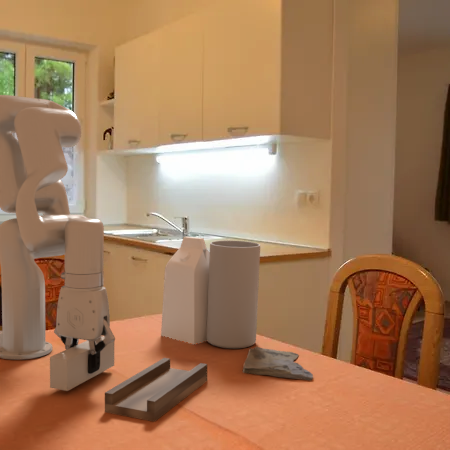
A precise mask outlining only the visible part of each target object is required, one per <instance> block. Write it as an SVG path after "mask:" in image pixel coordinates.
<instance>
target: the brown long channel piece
mask: <svg viewBox="0 0 450 450" xmlns="http://www.w3.org/2000/svg"><path fill="white" fill-rule="evenodd" d="M206 382H208V364H207V363H202V362H200V363H199V364H197V365H196V366H194V367H193V368H192V369H189V370H186V369H185V370H184V369H178V368H173V367H171V358H168V357H167V358H166V357H163V358H162V359H161V358H160V359H159V360H158V361H156V362H155V363H153V364H151V365H149V366H148V367H146V368H144V369H143V370H140V371H139V372H138V373H136V374H135V375H132V376H130V377H129V378H127V379H125V380H124V381H122V382H121V383H119V384H117V385H116V386H113V387H112V388H110V389H109V390H107V391H105V392H104V413H106V414H107V413H108V414H114V415H117V416H118V415H119V416H123V417H128V418H129V417H130V418H134V419H140V420H146V421H150V422H156V421H157V420H159V419H160V418H161V417H162V416H164V415H165V414H166V413H167V412H169V411H170V410H172V409H173V408H174V407H175V406H177V405H178V404H179V403H181V402H183V400H184V399H185V398H187V397H188V396H190V395H191V394H192V393H193V392H195V391H196V390H198V389H199V388H200V387H201V386H203V385H204V384H205V383H206Z"/></svg>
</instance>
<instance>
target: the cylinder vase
mask: <svg viewBox="0 0 450 450" xmlns="http://www.w3.org/2000/svg"><path fill="white" fill-rule="evenodd" d="M209 252H210V257H209V284H208V311H207V341H206V342H208V343H209V344H210V345H212V346H214V347H217V348H218V347H219V348H223V349H233V350H235V349H245V348H249V347H251V346H253V345H254V344H255V343H256V341H257V328H258V327H257V325H258V304H259V280H260V263H261V260H260V259H261V243H258V242H254V241H248V240H246V241H245V240H244V241H243V240H231V239H230V240H213V241H210V242H209Z"/></svg>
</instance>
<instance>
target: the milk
mask: <svg viewBox="0 0 450 450" xmlns="http://www.w3.org/2000/svg"><path fill="white" fill-rule="evenodd" d="M209 257H210V250H208V249H207V245H206V242H205V239H204V237H195V236H183V239H182V241H181V245H180V247H179V248H178V249H177V251H175V253H174V254H173V255H172V256H171V258H170V259H169V260H168V261H167V262H166V265H165V267H164V274H163V275H164V278H163V292H162V293H163V294H162V296H163V297H162V314H161V329H160V330H161V331H160V336H161V337H164V336H165V338H167V337H169V338H168V339H171V338H172V340H175V339H176V340H175V341H179V340H180V341H179V342H182V341H184V342H183V343H186V342H188V343H187V344H190V343H192V344H191V345H194V344H195V345H197V344H196V343H198V344H201V343H204V342H203V341H205V342H208V341H207V311H208V284H209ZM200 342H201V343H200Z"/></svg>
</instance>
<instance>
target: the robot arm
mask: <svg viewBox="0 0 450 450" xmlns="http://www.w3.org/2000/svg"><path fill="white" fill-rule="evenodd" d="M14 133H15V134H16V137H15V136H14V135H13V134H14ZM81 137H82V126H81V122H80V120H79V118H78V117H77V115H76V113H74V112H73V111H72V110H71V109H69V108H67V107H65V106H63V105H61V104H59V103H57V102H56V101H52V100H50V99H44V98H35V97H26V96H19V95H11V94H10V95H9V94H0V209H1V210H2V212H5V213H8V214H15V218H10V219H7V220H5V221H3V222H2V223H0V277H1V279H0V280H1V311H2V312H1V314H2V315H1V319H2V320H1V321H2V323H1V325H2V326H1V327H2V330H0V358H1V359H4V360H13V361H14V360H16V361H17V360H30V359H36V358H40V357H44V356H47V355H48V354H50V353H51V352H52V351H53V345H52V343H50V342H49V341H46V285H45V284H46V282H45V281H46V279H45V275H44V272H43V271H42V269H41V268H40V267H39V265H38V263H36V261H35V259H40V258H49V257H58V256H63V255H64V272H61V273H60V278H61V279H62V280H64V285H62V286H61V287H60V290H59V295H58V301H57V307H56V308H57V309H56V323H55V326H56V327H55V328H54V330H53V333H54V334H55V335H56V336H57V337H58V338H59V339H60V340H61V342H62V343H63V345H64V349H65V350H67V349H69V348H71V347H74V346H76V345H78V344H79V340H83V341H87V340H88V341H89V347H90V354H88V373H89V374H92V373H94V372H96V371H98V370H99V368H100V351H102V350H103V348H104V347H105V346H106V345H108V344H109V343H111V342H113V341H114V342H115V340H116V337H115V335H114V333H113V331H112V330H111V326H110V324H111V322H110V317H111V315H110V304H109V297H108V292H107V287H105V286H104V260H105V259H104V255H105V254H104V247H105V245H104V243H105V242H104V237H105V236H104V235H105V233H104V231H105V228H104V223H103V222H102V220H100V219H99V218H98V219H97V218H92V217H91V218H90V217H87V216H85V215H82V214H71V210H70V205H69V200H68V194H67V190H66V186H65V185H64V183H63V181H62V179H63V178H64V177H65V176H66V175H67V173H68V171H69V168H68V163H67V161H66V157H65V153H64V150H63V148H73V147H75V146H77V145H78V143H80V140H81ZM39 214H41V215H39ZM101 336H104V337H105V338H104V339H103V340H102V338H101ZM95 341H96V343H95Z"/></svg>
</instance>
